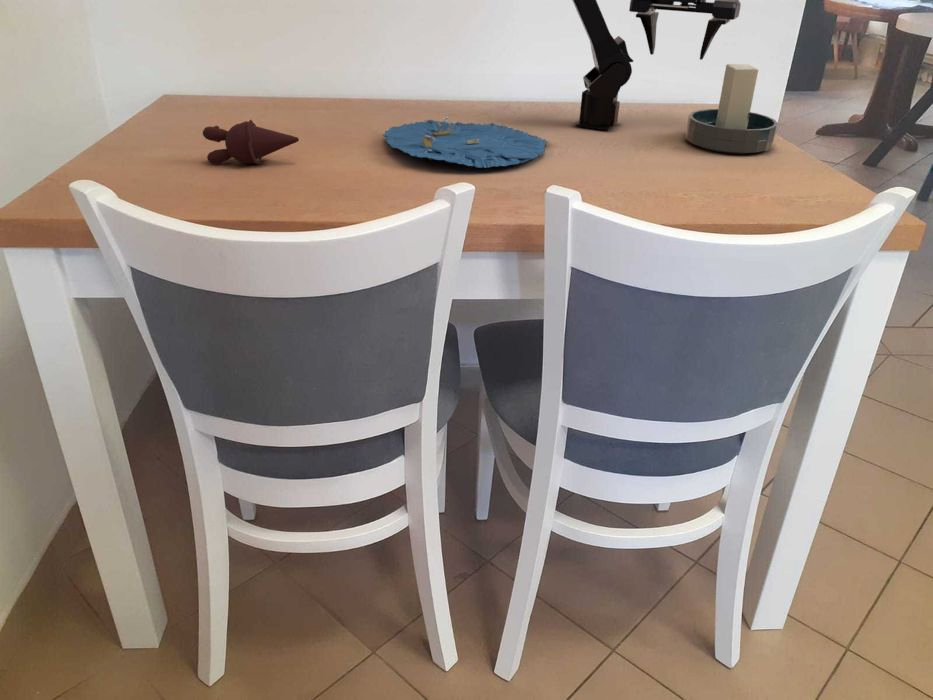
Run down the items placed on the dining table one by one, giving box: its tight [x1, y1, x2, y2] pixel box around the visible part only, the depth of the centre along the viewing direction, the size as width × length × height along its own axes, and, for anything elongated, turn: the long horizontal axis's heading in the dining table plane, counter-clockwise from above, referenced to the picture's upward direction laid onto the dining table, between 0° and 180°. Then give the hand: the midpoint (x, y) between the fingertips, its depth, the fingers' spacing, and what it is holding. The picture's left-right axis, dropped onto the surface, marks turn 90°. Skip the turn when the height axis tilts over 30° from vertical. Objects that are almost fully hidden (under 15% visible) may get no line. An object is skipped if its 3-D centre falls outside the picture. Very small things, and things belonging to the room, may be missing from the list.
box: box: [715, 63, 759, 129], centre depth 131 cm, size 5×4×13 cm
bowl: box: [684, 108, 779, 155], centre depth 134 cm, size 15×15×4 cm
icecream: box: [202, 119, 300, 165], centre depth 117 cm, size 7×7×15 cm
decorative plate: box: [382, 116, 548, 169], centre depth 128 cm, size 30×30×5 cm
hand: (676, 56), depth 137 cm, fingers open, 9 cm apart
